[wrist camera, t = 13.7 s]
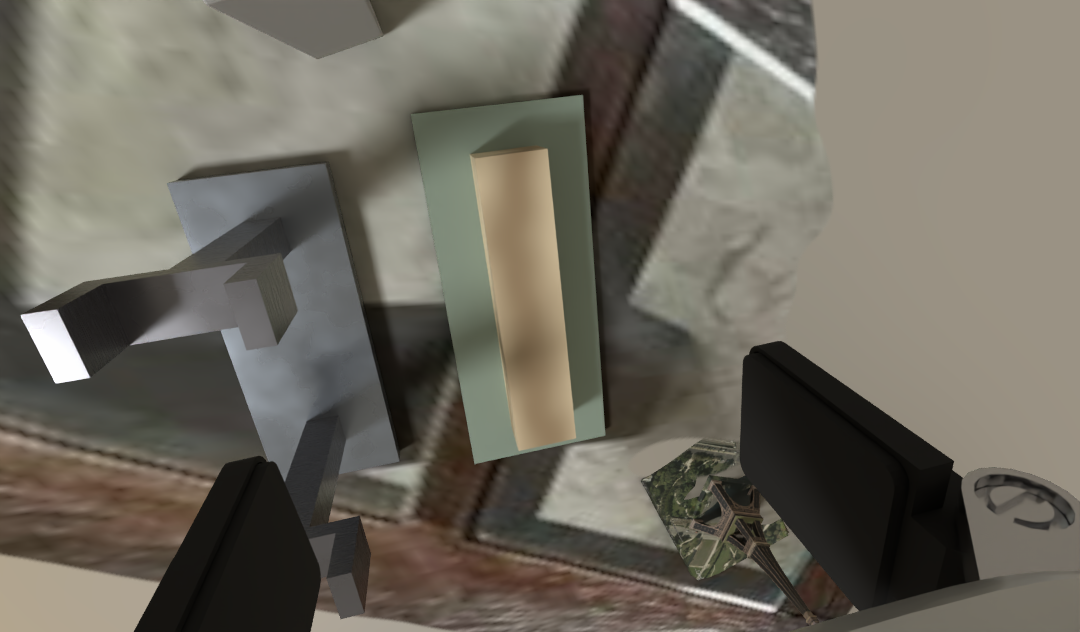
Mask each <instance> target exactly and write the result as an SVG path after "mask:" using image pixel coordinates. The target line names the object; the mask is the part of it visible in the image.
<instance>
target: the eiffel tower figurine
mask: <svg viewBox="0 0 1080 632" xmlns="http://www.w3.org/2000/svg"><path fill="white" fill-rule="evenodd" d="M738 464H740V442H732V441H731V442H729V441H719V440H711V439H701V440H700V441H699V442H697V443H696V444H694V445H693V446H691V447H690V448H689V449H687V450H686V451H685V452H683V453H682V454H681V455H679V456H678V457H677V458H675V459H674V460H673V461H671V462H670V463H668V464H667V465H665V466H664V467H662V468H661V469H659V470H658V471H656V472H654V473H653V474H651V475H650V476H648V477H646V478H645V479H643V480H642V481H641V482H642V484H643V486H644V488H645V489H646V491H647V493H648V495H649V497H650V499H651V501H652V503H653V505H654V507H655V509H656V510H657V512H658V514H659V516H660V518H661V520H662V521H663V523H664V525H665V527H666V529H667V530H668V532H669V534H670V536H671V538H672V540H673V542H674V543H675V545H676V547H677V549H678V551H679V553H680V555H681V557H682V559H683V561H684V562H685V564H686V566H687V568H688V570H689V572H690V575H691V576H694V577H695V578H696V579H698V580H700V579H703V578H708V577H711V576H713V575H716V574H718V573H720V572H722V571H724V570H726V569H728V568H729V567H731V566H733V565H735V564H737V563H739V562H740V561H742V560H744V559H746V558H750V559H753V560H754V561H755V562H756V563H757V564H758V565H759V566H760V567H761V568H762V569H763V570H764V571H765V572H766V573H767V574H768V575H769V576H770V578H771V579H772V580H773V581H774V582H775V583H776V584H777V586H778V587H779V588H780V589H781V590H782V591H783V592H784V594H785V595H786V596H787V597H788V598H789V599H790V600H791V602H792V603H793V604H794V605H795V606H796V607H797V609H798V610H799V611H800V612H801V613H802V615H803V616H804V617H805V619H806V622H807V624H809V625H810V626H811V625H814V624H817V623H819V620H818V619H817V617H816V616H814V615H813V614H812V613H811V612H810V610H809V609H808V607H807V606H806V605H805V603H804V602H803V600H802V599H801V597H800V596H799V594H798V593H797V591H796V590H795V588H794V587H793V585H792V584H791V582H790V581H789V580H788V578H787V577H786V575H785V574H784V572H783V571H782V569H781V567H780V566H779V564H778V562H777V561H776V559H775V558H774V556H773V554H772V552H771V550H770V548H769V547H770V545H772V544H774V543H776V542H777V541H779V540H781V539H783V538H785V537H786V536H788V533H787V531H786V528H785V526H784V523H783V520H782V519H780V520H778V521H776V522H774V523H773V524H770V525H761V523H762V521H763V518H762V517H761V515H760V514H759V513H760V492H759V491H758V490H757V489H756V487H755V486H754V485H753V484H752V483H751V481H750V480H749V479H748V478H747V476H743V477H741V478H740V479H733V478H726V477H718V476H711V475H714V474H717V473H720V472H722V471H725V470H727V469H729V468H731V467H734V466H736V465H738ZM708 475H709V477H708V479H707V481H706V483H705V485H704V488H703V490H702V492H701V494H700V496H699V497H696V498H692V499H689V500H684V498H685V497H686V495H687V494H688V493H689V492H690V490H691V489H692V488H693V487H694V486H695V483H696V477H704V476H708Z"/></svg>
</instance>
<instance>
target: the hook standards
mask: <svg viewBox="0 0 1080 632" xmlns="http://www.w3.org/2000/svg"><path fill="white" fill-rule="evenodd" d="M167 185H168V188H169V191H170V193H171V196H172V199H173V202H174V204H175V207H176V210H177V212H178V215H179V218H180V221H181V223H182V226H183V229H184V232H185V234H186V237H187V240H188V243H189V245H190V248H191V251H192V253H193V254H192V255H191V256H189V257H188V258H186V259H184V260H183V261H181V262H180V263H178V264H177V265H175V266H174V267H172V268H170V269H168V270H161V271H155V272H148V273H141V274H134V275H127V276H121V277H114V278H107V279H100V280H93V281H87V282H83V283H81V284H79V285H77V286H75V287H73V288H71V289H70V290H68V291H66V292H64V293H62V294H60V295H58V296H56V297H54V298H52V299H50V300H48V301H46V302H44V303H42V304H41V305H39V306H37V307H35V308H33V309H31V310H29V311H27V312H25V313H23V314H21V317H22V319H23V321H24V323H25V325H26V327H27V329H28V331H29V333H30V335H31V337H32V339H33V341H34V342H35V344H36V346H37V348H38V350H39V352H40V354H41V356H42V358H43V360H44V362H45V364H46V366H47V368H48V369H49V371H50V373H51V375H52V377H53V379H54V381H55V383H62V382H68V381H73V380H79V379H85V378H90V377H91V376H93V375H94V374H95V373H96V372H98V371H99V370H100V369H101V368H102V367H104V366H105V365H106V364H107V363H109V362H110V361H111V360H112V359H113V358H115V357H116V356H117V355H118V354H120V353H121V352H122V351H123V350H124V349H126V348H127V347H128V346H129V345H134V344H140V343H146V342H152V341H158V340H164V339H170V338H176V337H182V336H188V335H194V334H200V333H206V332H212V331H218V330H221V333H222V336H223V338H224V341H225V344H226V346H227V349H228V352H229V355H230V357H231V360H232V363H233V366H234V368H235V371H236V374H237V377H238V379H239V382H240V385H241V387H242V390H243V393H244V396H245V398H246V401H247V404H248V407H249V409H250V412H251V415H252V418H253V420H254V423H255V426H256V429H257V431H258V434H259V437H260V439H261V442H262V445H263V448H264V450H265V453H266V456H267V459H268V461H269V462H270V461H273V462H275V463H276V464H277V466H278V468H279V470H280V473H281V475H282V477H283V480H284V482H285V484H286V487H287V489H288V492H289V494H290V496H291V499H292V501H293V503H294V506H295V508H296V511H297V513H298V515H299V518H300V520H301V522H302V525H303V527H304V530H305V532H306V534H307V537H308V539H309V541H310V544H311V546H312V549H313V551H314V553H315V556H316V558H317V560H318V563H319V566H320V572H321V578H323V577H327V581H328V584H329V587H330V590H331V593H332V596H333V598H334V601H335V604H336V607H337V610H338V613H339V616H340V618H341V619H343V618H347V617H351V616H355V615H359V614H363V613H365V603H366V594H367V585H368V575H369V566H370V557H371V552H370V549H369V546H368V542H367V539H366V536H365V532H364V529H363V526H362V522H361V519H360V516H357V517H352V518H348V519H344V520H339V521H335V522H330V523H328V521H329V516H330V511H331V507H332V502H333V498H334V493H335V489H336V484H337V479H338V475H339V474H342V473H347V472H351V471H356V470H361V469H366V468H370V467H375V466H380V465H384V464H389V463H394V462H399V461H400V449H399V445H398V441H397V437H396V433H395V429H394V425H393V421H392V417H391V413H390V409H389V404H388V400H387V396H386V392H385V388H384V384H383V380H382V376H381V372H380V368H379V364H378V360H377V356H376V352H375V348H374V344H373V340H372V336H371V332H370V328H369V324H368V319H367V315H366V311H365V307H364V303H363V299H362V295H361V291H360V287H359V283H358V279H357V275H356V271H355V267H354V263H353V259H352V255H351V251H350V247H349V243H348V238H347V234H346V230H345V226H344V222H343V218H342V214H341V210H340V206H339V202H338V198H337V194H336V190H335V186H334V182H333V178H332V174H331V170H330V166H329V162H322V163H313V164H305V165H297V166H289V167H281V168H273V169H265V170H257V171H248V172H240V173H232V174H224V175H216V176H208V177H200V178H192V179H183V180H176V181H173V182H169V183H167Z"/></svg>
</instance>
